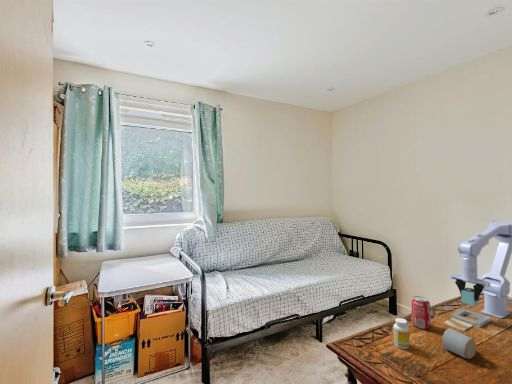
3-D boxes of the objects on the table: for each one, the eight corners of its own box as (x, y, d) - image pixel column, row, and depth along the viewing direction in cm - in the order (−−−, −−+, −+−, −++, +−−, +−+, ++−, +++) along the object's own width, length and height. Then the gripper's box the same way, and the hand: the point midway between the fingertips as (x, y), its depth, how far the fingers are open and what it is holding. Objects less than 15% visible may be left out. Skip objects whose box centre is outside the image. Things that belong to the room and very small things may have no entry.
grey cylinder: (467, 363, 94) (466, 340, 94) (441, 351, 101) (441, 330, 101) (482, 354, 99) (482, 333, 99) (457, 343, 106) (457, 323, 106)
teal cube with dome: (466, 300, 127) (466, 286, 127) (478, 303, 124) (478, 289, 123) (461, 302, 125) (461, 288, 125) (473, 306, 121) (473, 291, 121)
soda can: (425, 322, 123) (425, 295, 122) (434, 330, 116) (433, 302, 115) (409, 321, 123) (408, 295, 123) (416, 329, 116) (416, 301, 116)
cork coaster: (452, 318, 125) (452, 317, 125) (473, 326, 118) (473, 325, 118) (443, 323, 121) (443, 322, 121) (464, 331, 114) (464, 330, 114)
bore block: (462, 311, 132) (462, 308, 132) (490, 320, 123) (490, 317, 123) (450, 317, 126) (450, 314, 126) (479, 327, 117) (479, 324, 117)
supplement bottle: (390, 343, 107) (390, 319, 106) (399, 340, 109) (399, 315, 109) (403, 350, 102) (402, 325, 102) (412, 346, 104) (412, 321, 104)
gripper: (447, 266, 128) (447, 295, 129) (485, 274, 116) (485, 306, 116) (454, 264, 132) (455, 292, 132) (492, 271, 120) (492, 302, 120)
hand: (469, 298), depth 124 cm, fingers closed on teal cube with dome, 5 cm apart
